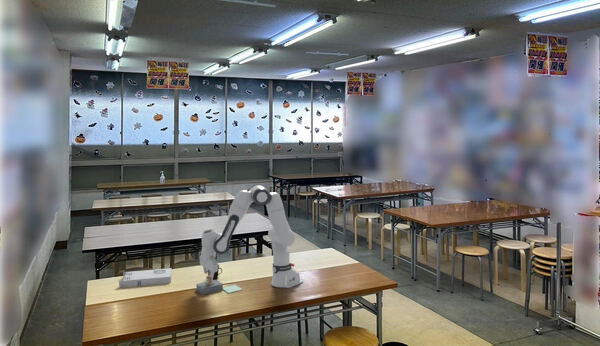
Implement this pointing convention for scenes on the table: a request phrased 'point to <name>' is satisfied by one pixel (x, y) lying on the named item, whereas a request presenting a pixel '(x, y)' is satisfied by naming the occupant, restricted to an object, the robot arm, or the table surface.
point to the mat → (231, 289)
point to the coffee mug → (214, 273)
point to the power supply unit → (146, 277)
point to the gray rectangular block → (209, 287)
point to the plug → (209, 280)
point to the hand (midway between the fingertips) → (208, 275)
